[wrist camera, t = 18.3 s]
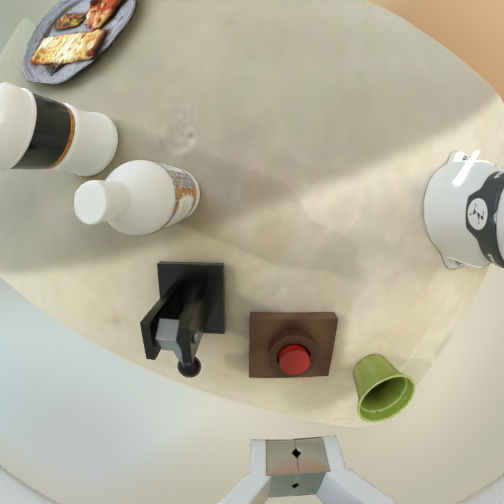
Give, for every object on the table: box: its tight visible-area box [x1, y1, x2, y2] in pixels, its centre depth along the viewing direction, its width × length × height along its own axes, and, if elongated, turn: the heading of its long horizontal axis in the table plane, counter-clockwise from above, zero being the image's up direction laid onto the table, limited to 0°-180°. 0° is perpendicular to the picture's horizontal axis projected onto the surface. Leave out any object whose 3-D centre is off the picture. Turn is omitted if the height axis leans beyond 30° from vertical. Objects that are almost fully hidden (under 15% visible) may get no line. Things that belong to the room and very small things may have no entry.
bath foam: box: [74, 160, 200, 236], centre depth 25 cm, size 7×7×20 cm
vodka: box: [0, 83, 118, 176], centre depth 18 cm, size 9×9×30 cm
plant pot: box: [353, 354, 415, 422], centre depth 36 cm, size 9×9×9 cm
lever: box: [155, 319, 201, 377], centre depth 31 cm, size 13×3×3 cm
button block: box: [249, 312, 338, 378], centre depth 37 cm, size 12×10×4 cm
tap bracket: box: [140, 261, 225, 364], centre depth 31 cm, size 10×9×13 cm
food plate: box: [22, 0, 137, 84], centre depth 26 cm, size 25×23×4 cm
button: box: [279, 344, 310, 375], centre depth 35 cm, size 4×4×2 cm
